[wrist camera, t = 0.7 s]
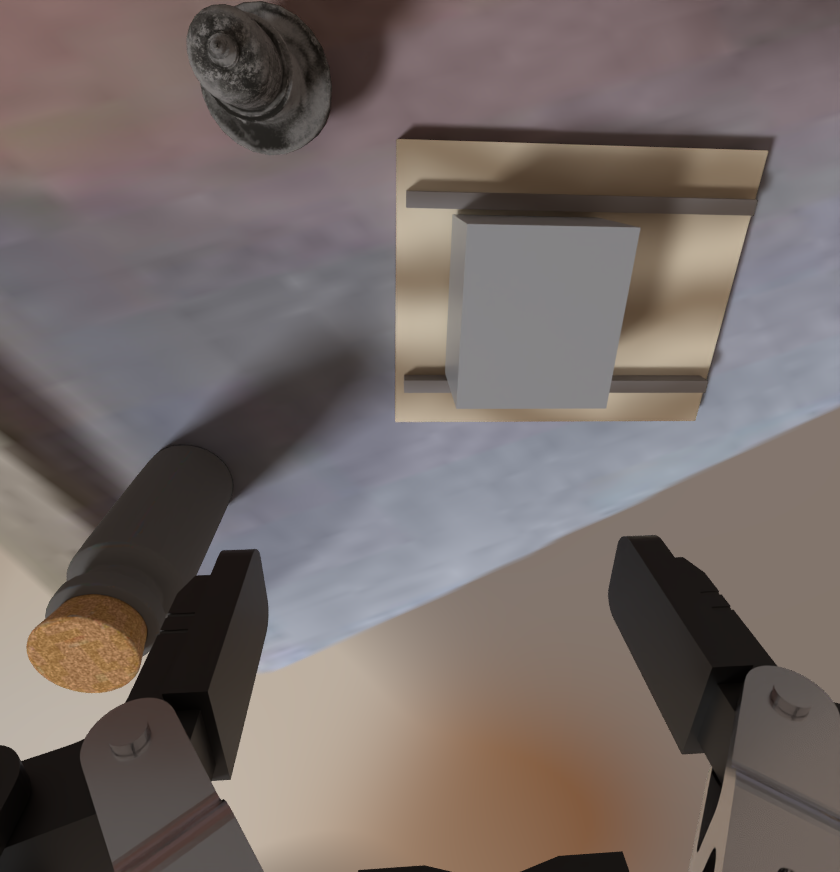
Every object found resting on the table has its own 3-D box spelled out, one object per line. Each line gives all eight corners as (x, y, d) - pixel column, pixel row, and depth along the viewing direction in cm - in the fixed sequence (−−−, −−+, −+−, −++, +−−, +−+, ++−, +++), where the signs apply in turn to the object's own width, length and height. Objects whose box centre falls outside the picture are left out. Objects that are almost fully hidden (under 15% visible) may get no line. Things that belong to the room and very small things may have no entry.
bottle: (154, 518, 39) (33, 705, 25) (137, 444, 36) (-8, 609, 23) (239, 516, 39) (164, 700, 26) (227, 443, 36) (138, 604, 23)
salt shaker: (297, -5, 26) (238, -124, 15) (358, 121, 29) (344, 94, 18) (195, 60, 27) (72, -11, 16) (262, 177, 30) (195, 183, 19)
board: (396, 140, 29) (397, 137, 27) (754, 151, 30) (780, 149, 29) (395, 414, 36) (395, 428, 34) (686, 413, 38) (703, 427, 36)
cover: (452, 214, 29) (467, 224, 24) (597, 217, 30) (640, 227, 25) (444, 372, 33) (456, 408, 28) (572, 372, 34) (606, 408, 29)
